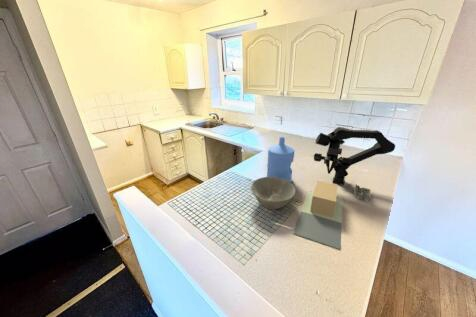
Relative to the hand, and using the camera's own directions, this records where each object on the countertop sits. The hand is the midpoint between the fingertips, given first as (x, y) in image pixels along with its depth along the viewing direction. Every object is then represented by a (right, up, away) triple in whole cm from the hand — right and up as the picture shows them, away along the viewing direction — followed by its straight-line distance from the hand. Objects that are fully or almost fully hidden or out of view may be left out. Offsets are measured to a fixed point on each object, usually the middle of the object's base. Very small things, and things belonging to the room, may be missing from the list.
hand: (328, 173), depth 108 cm
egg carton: (+18, -13, 0) cm, 22 cm away
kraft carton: (-7, -16, -8) cm, 19 cm away
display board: (-11, -19, -14) cm, 26 cm away
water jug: (-24, -5, +17) cm, 30 cm away
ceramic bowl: (-33, -16, -6) cm, 37 cm away
